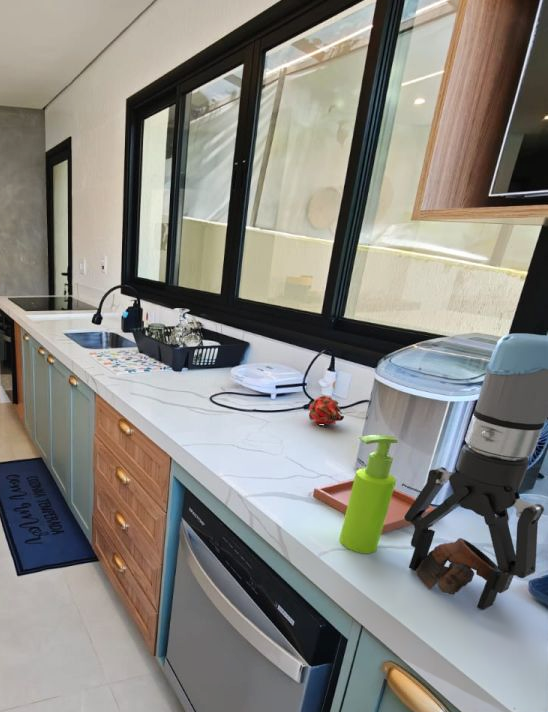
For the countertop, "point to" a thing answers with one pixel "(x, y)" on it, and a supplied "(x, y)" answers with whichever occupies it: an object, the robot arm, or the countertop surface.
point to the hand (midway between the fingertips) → (448, 585)
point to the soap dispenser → (369, 498)
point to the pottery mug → (453, 566)
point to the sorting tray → (397, 510)
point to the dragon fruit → (325, 411)
